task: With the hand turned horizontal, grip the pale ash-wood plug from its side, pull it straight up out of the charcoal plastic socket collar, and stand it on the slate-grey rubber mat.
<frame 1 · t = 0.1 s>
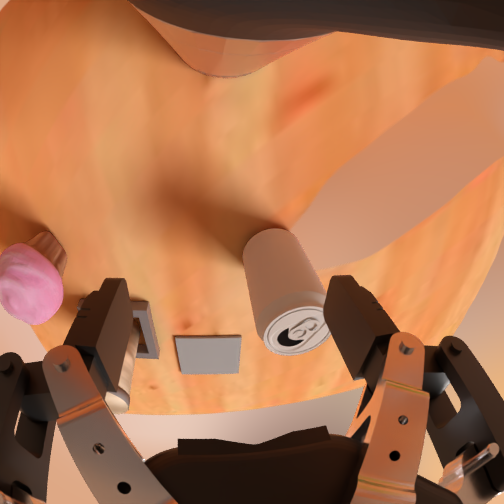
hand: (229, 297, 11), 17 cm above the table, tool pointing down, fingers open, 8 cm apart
socket collar: (121, 326, 34), on the table
wooden plug: (112, 361, 29), in the socket collar
cupcake: (52, 250, 27), on the table
beverage can: (270, 250, 31), on the table
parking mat: (209, 355, 39), on the table
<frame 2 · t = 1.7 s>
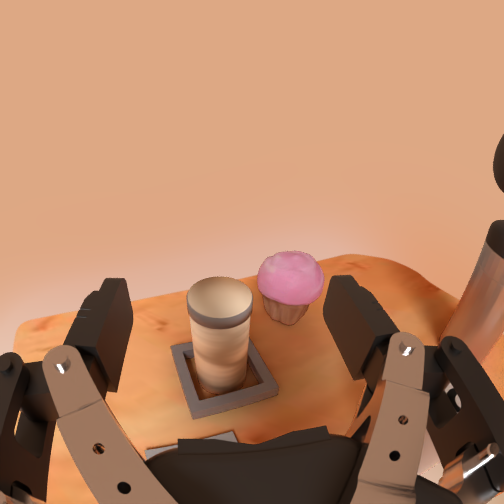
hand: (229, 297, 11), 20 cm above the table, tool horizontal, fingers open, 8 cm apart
socket collar: (221, 375, 30), on the table
wooden plug: (220, 341, 27), in the socket collar
cupcake: (284, 316, 40), on the table
beverage can: (397, 460, 19), on the table
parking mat: (204, 482, 18), on the table
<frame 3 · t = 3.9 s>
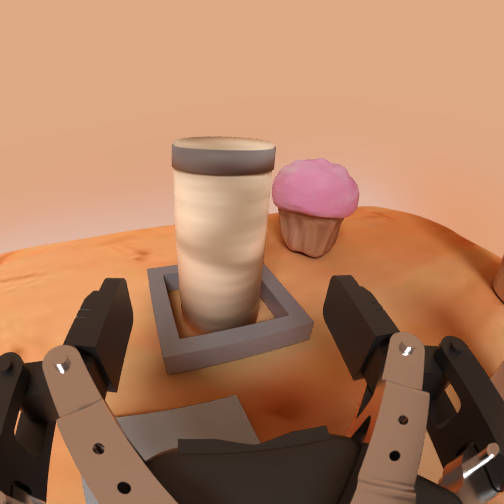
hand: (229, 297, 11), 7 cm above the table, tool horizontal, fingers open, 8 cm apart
socket collar: (219, 311, 20), on the table
wooden plug: (220, 237, 17), in the socket collar
cupcake: (306, 250, 30), on the table
beverage can: (494, 428, 10), on the table
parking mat: (178, 491, 8), on the table
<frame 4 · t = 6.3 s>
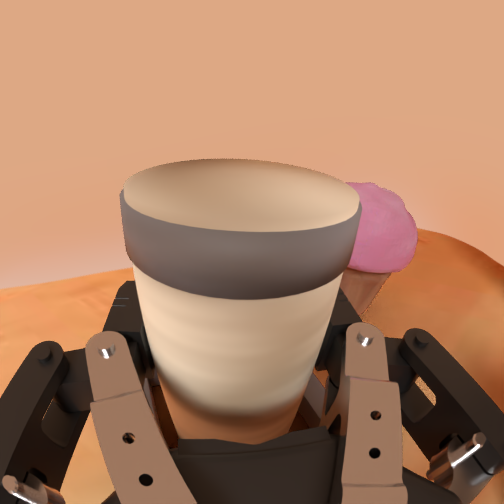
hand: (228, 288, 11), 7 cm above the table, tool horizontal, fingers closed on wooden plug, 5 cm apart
socket collar: (232, 424, 12), on the table
wooden plug: (233, 351, 9), in the socket collar, touching gripper
cupcake: (339, 303, 22), on the table
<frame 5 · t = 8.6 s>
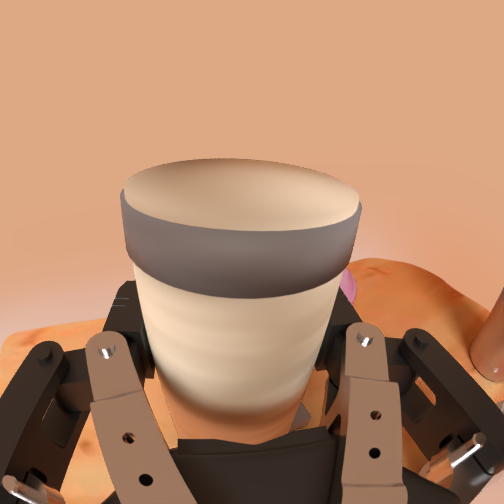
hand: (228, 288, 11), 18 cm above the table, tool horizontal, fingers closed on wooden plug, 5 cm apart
socket collar: (240, 403, 24), on the table
wooden plug: (233, 351, 9), point 17 cm above the table, touching gripper
cupcake: (308, 330, 34), on the table
beverage can: (436, 485, 14), on the table
when the fingers open (8 cm above the table, at t = 11.4 s): wooden plug stays where it is, resting on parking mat.
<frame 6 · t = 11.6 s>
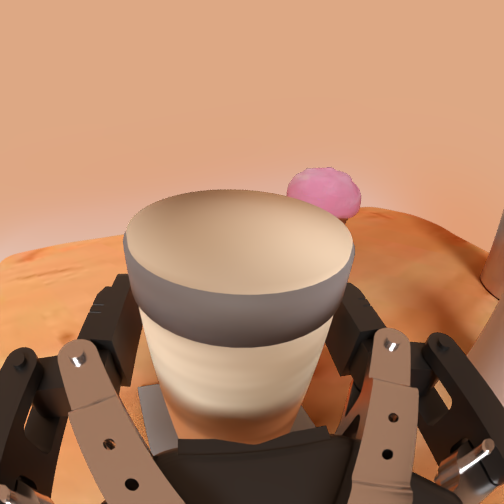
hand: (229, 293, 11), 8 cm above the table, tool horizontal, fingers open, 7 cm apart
wooden plug: (233, 372, 10), on the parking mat
cupcake: (315, 246, 35), on the table
beverage can: (479, 392, 14), on the table
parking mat: (230, 435, 13), on the table
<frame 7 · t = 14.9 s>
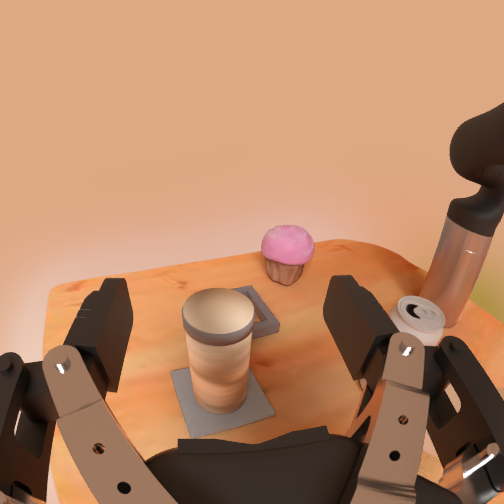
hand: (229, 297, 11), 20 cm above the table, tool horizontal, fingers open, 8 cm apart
socket collar: (232, 318, 39), on the table
wooden plug: (219, 358, 24), on the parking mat
cupcake: (283, 280, 50), on the table
beverage can: (380, 387, 29), on the table
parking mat: (219, 395, 27), on the table
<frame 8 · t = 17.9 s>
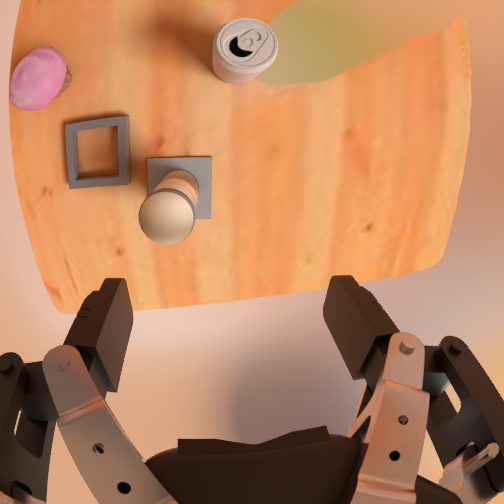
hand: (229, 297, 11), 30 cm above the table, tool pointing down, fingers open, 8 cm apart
socket collar: (98, 151, 33), on the table
wooden plug: (173, 201, 32), on the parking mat
cupcake: (60, 80, 27), on the table
beverage can: (236, 63, 31), on the table
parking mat: (179, 188, 38), on the table
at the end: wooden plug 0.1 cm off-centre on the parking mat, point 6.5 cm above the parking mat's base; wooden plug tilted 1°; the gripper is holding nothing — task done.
